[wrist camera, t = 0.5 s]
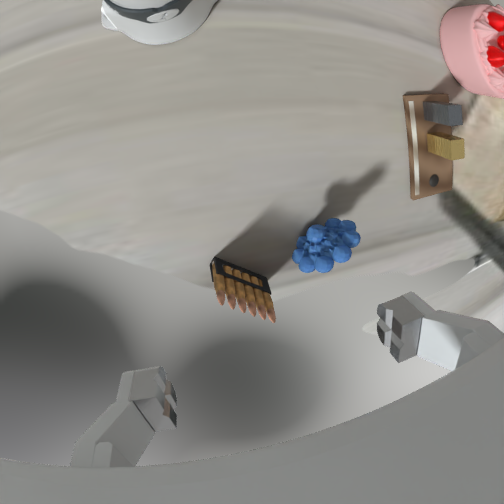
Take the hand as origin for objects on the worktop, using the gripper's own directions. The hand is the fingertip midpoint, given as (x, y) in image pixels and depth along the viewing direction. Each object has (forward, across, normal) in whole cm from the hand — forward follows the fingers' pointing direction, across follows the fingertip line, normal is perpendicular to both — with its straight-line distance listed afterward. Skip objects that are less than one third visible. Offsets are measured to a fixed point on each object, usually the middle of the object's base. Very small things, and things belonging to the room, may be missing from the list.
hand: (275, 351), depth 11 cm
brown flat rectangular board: (+38, -40, 0) cm, 56 cm away
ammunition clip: (+42, 0, +17) cm, 45 cm away
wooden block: (+37, -40, 0) cm, 55 cm away
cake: (+36, -56, -20) cm, 69 cm away
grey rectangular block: (+38, -40, -7) cm, 56 cm away
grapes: (+41, -14, +11) cm, 44 cm away
